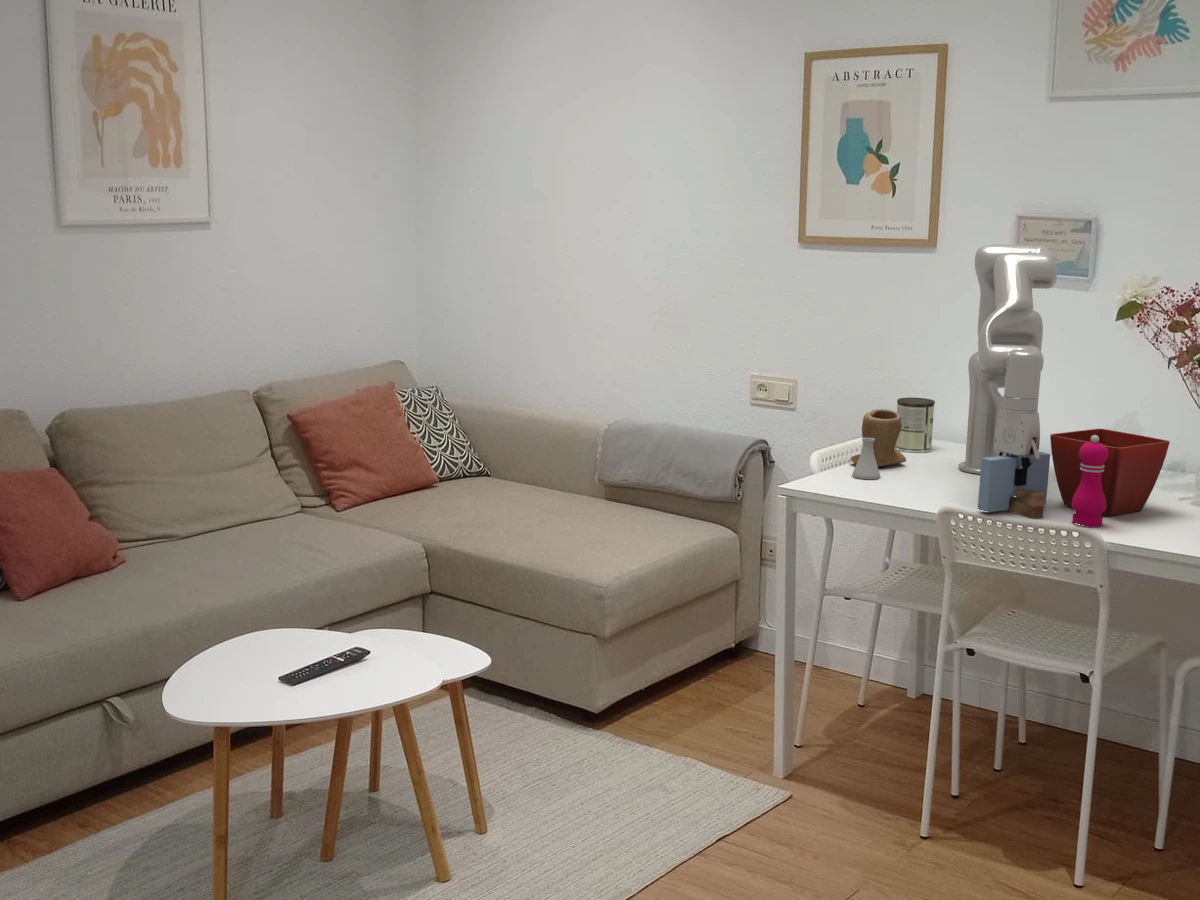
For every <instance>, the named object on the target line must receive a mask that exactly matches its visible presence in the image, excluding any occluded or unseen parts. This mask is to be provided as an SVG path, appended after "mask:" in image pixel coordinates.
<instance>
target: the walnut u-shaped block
mask: <svg viewBox="0 0 1200 900" xmlns="http://www.w3.org/2000/svg"><path fill="white" fill-rule="evenodd" d="M1044 499H1045V493H1041V492H1038V491H1034V490H1031V489H1018V490H1017V497H1016V496H1010V499H1009V510H1006V511H1007V512H1010V513H1014V514H1016V515H1020V516H1024V517H1026V518H1030V519H1032V518H1034V519H1041V518H1044V510H1045V509H1044V508H1045V505H1044Z"/></svg>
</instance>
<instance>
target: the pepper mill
mask: <svg viewBox="0 0 1200 900" xmlns="http://www.w3.org/2000/svg"><path fill="white" fill-rule="evenodd" d="M1098 441H1099V437H1098V436H1097V435H1093V436H1092V437H1091V442H1087V443H1085V444H1083V445H1082V446H1081V448H1080V451H1079V457H1080V459H1081V460H1082V462H1083V463H1081V464H1080V465H1081V467H1080V469H1081V470H1082V477H1081V482H1080V485H1079V487H1078V489H1077V490H1076V492H1075V494H1074V496H1073V499H1072V504H1071V505H1072V507H1071V508H1072V510H1073V511H1074V512H1075V513H1074V514H1072V519H1071V522H1072V523H1073V524H1074V523H1077V524H1080V525H1084V526H1088V527H1087V528H1098V527H1102V526H1103V519H1104V518H1103V515H1102V513H1103V512H1104V511H1105V509H1106V498H1105V495H1104V493H1103V490H1102V485H1101V476H1102V472H1103V471H1104V467H1105V465H1103V463H1104V462H1105V461H1106V460H1107V458H1108V450H1107V448H1106V446H1105V445H1103V444H1101V443H1099V442H1098ZM1084 526H1083V527H1084Z"/></svg>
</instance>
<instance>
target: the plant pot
mask: <svg viewBox="0 0 1200 900" xmlns="http://www.w3.org/2000/svg"><path fill="white" fill-rule="evenodd" d="M1093 435H1097V436H1098V437H1099V441H1098V442H1099V443H1101V444H1103V445H1105V446H1106V448H1107V450H1108V458H1107V460H1106V461H1105V462H1104V463H1103V465H1105V467H1104V471H1103V472H1102V476H1101V485H1102V490H1103V493H1104V495H1105V498H1106V509H1105V511H1104V512H1103V513H1102V514H1101V516H1108V517H1111V516H1117V515H1123V514H1127V513H1129V514H1130V513H1135V512H1141V511H1142V510H1143V508H1144V507H1145V505H1146V503H1147V501H1148V500H1149V498H1150V495H1151V494H1152V492H1153V489H1154V488H1155V485H1156V483H1157V480H1158V478H1159V477H1160V473H1161V471H1162V468H1163V465H1164V462H1165V460H1166V456H1167V453H1168V449H1169V446H1170V440H1168V439H1167V440H1166V439H1162V438H1156V437H1151V436H1146V435H1140V434H1136V433H1135V434H1134V433H1130V432H1128V433H1127V432H1122V431H1117V430H1112V429H1106V428H1093V429H1084V430H1074V431H1066V432H1059V433H1058V432H1057V433H1051V434H1050V437H1049V438H1050V448H1051V456H1052V457H1051V458H1052V463H1053V470H1054V474H1055V477H1056V478H1055V479H1056V483H1057V487H1058V490H1059V493H1060V497H1061V500H1062V502H1063V505H1064V506H1066V507H1069V508H1072V505H1071V504H1072V499H1073V496H1074V494H1075V492H1076V490H1077V489H1078V487H1079V485H1080V482H1081V477H1082V470H1081V469H1080V467H1081V465H1080V464H1081V463H1083V462H1082V460H1081V459H1080V457H1079V451H1080V448H1081V446H1082V445H1083V444H1085V443H1087V442H1091V437H1092V436H1093Z"/></svg>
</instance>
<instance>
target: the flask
mask: <svg viewBox="0 0 1200 900" xmlns="http://www.w3.org/2000/svg"><path fill="white" fill-rule="evenodd" d="M861 441H862V447H861V452H860V454H861V455H860V454H859V455H860V457H859V460H858V462H857V464H856V463H855V467H854V470H853V471H852V474H851V476H853V477H854V478H855V479H862V480H878V479H880V478H882V477H881V473H880V469H879V467H878V466H877V463H876V459H875V456H874V449H873V443H874V441H875V439H874V438H863V437H862V438H861Z"/></svg>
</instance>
